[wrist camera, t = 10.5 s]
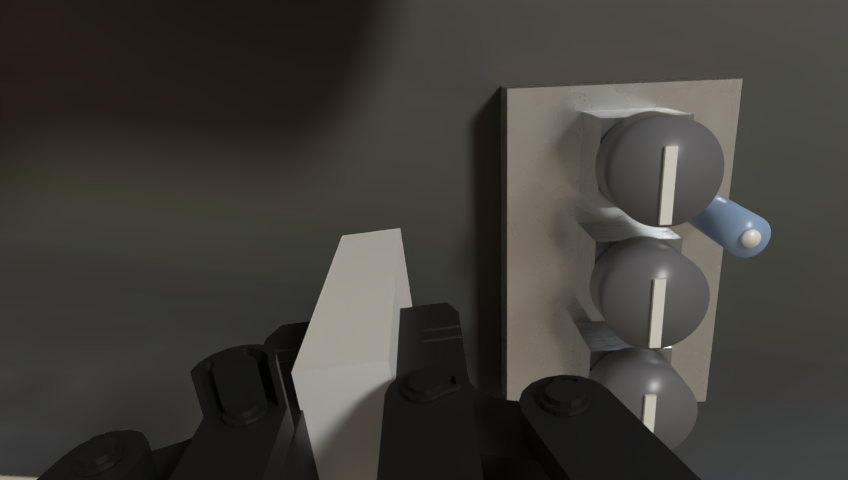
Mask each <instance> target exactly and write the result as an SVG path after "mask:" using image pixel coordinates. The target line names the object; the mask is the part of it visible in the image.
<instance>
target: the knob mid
mask: <svg viewBox="0 0 848 480" xmlns="http://www.w3.org/2000/svg"><path fill="white" fill-rule="evenodd" d="M590 294H591V298H592V301H593V303H594V305H595V307H596V308H597V309H598V311H599V312H600V314H601V315H602V317H603V318H604V319H605V321H606V322H607V324H608V325H609V327H610V328H611V329H612V331H613V332H614V334H615V335H616V336H617V337H618V338H619V339H621V340H622V341H623V342H625V343H627V344H629V345H631V346H633V347H637V348H641V349H661V348H666V347H669V346H672V345H675V344H677V343H679V342H681V341H682V340H684V339H685V338H687V337H688V336H689V335H691V334H692V333H693V332H694V331H695V330H696V329H697V327H698V326H699V325H700V324H701V322H702V320H703V319H704V317H705V315H706V312H707V309H708V306H709V300H710V292H709V286H708V282H707V279H706V277H705V275H704V274H703V272H702V271H701V269H700V268H699V267H698V266H697V265H696V264H695V263H693V262H692V261H691V260H690V259H688V258H687V257H686V256H684V255H683V254H682V253H680V252H679V251H678V250H676V249H675V248H674V247H672V246H671V245H670V244H668V243H667V242H665V241H663V240H661V239H658V238H654V237H649V236H637V237H631V238H627V239H625V240H622V241H620V242H618V243H616V244H614V245H613V246H611V247H610V248H609V249H607V250H606V251H605V252H604V253H603V254H602V255H601V257H600V258H599V259H598V261H597V262H596V264H595V266H594V268H593V270H592V273H591V277H590Z"/></svg>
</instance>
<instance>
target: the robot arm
mask: <svg viewBox="0 0 848 480" xmlns="http://www.w3.org/2000/svg"><path fill="white" fill-rule="evenodd" d="M190 373H191V376H192V379H193V383H194V386H195V389H196V393H197V396H198V399H199V403H200V406H201V410H202V413H203V416H204V418H203V420H202V422H201V423H200V425H199V427H198V429H197V431H196V433H195V434H194V436H193V438H191V439H188V440H186V441H183V442H180V443H177V444H173V445H170V446H167V447H164V448H161V449H158V450H154V451H151V448H150V445H149V442H148V439H147V438H146V437H145V436H144V435H143V434H142V433H141V432H137V431H132V430H124V431H113V432H108V433H105V434H104V435H103V434H101V435H98V436H95V437H93V438H92V439H90V440H89V441H87V442H85V443H83V444H81V445H79V446H77V447H76V448H74V449H73V450H71V451H70V452H69V453H67V454H66V455H64V456H63V457H62V458H61V459H60V460H58V461H57V462H56V463H55V464H54V465H53V466H52V467H50V468H49V469H48V470H47V471H46V472H45V473H44V474H42V475H41V476H40V477H39V478H38V479H37V480H701V479H700V478H699V477H698V476H697V475H695V474H694V473H693V472H692V471H691V470H690V469H689V468H688V467H687V466H686V465H685V464H684V463H683V462H682V461H681V460H680V459H679V458H678V457H677V456H676V455H675V454H674V453H673V452H672V451H671V450H670V449H669V448H668V447H667V446H666V445H665V444H664V443H663V442H662V441H661V440H660V439H659V438H658V437H657V436H656V435H655V434H654V433H653V432H652V431H650V430H649V429H648V428H647V427H646V426H645V425H644V424H643V423H642V422H641V421H640V420H639V419H638V418H637V417H636V416H635V415H634V414H633V413H632V412H631V411H630V410H629V409H628V408H627V407H626V406H625V405H624V404H623V403H622V402H621V401H620V400H619V399H618V398H617V397H616V396H615V395H614V394H613V393H612V392H611V391H610V390H609V389H607V388H606V387H604V386H603V385H601V384H600V383H598V382H597V381H595V380H592V379H588V378H585V377H582V376H575V375H557V376H550V377H545V378H542V379H540V380H537V381H535V382H532V383H531V384H530V385H529V386H527V387H526V388H525V389H524V390H523V391H522V393H521V396H520V399H519V401H513V400H504V399H498V398H494V397H491V396H488V395H485V394H483V393H482V392H480V391H478V390H477V389H475V388H474V386H473V385H472V384H471V383H470V381H469V378H468V374H467V367H466V360H465V354H464V347H463V340H462V333H461V327H460V320H459V313H458V311H456V310H455V309H454V308H453V307H452V306H451V305H449V304H448V303H439V304H431V305H423V306H415V307H412V302H411V296H410V289H409V283H408V276H407V270H406V263H405V257H404V250H403V244H402V237H401V231H400V228H398V229H390V230H382V231H375V232H367V233H359V234H352V235H344V236H342V238H341V240H340V243H339V246H338V248H337V251H336V254H335V257H334V259H333V262H332V265H331V267H330V270H329V273H328V275H327V278H326V281H325V283H324V286H323V289H322V292H321V294H320V297H319V300H318V302H317V305H316V308H315V310H314V313H313V316H312V318H311V321H310V322H302V323H294V324H287V325H282V326H281V327H279V328H278V329H277V330H276V331H275V332H273V333H272V334H271V335H270V336H269V337H267V339H266V341H265V343H264V345H259V344H258V345H242V346H237V347H232V348H228V349H225V350H223V351H220V352H218V353H215V354H213V355H211V356H209V357H208V358H206V359H204V360H203V361H201V362H199V363H198V364H197V365H196V366H195V367H194V368H193V369H192V370H191V371H190Z"/></svg>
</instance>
